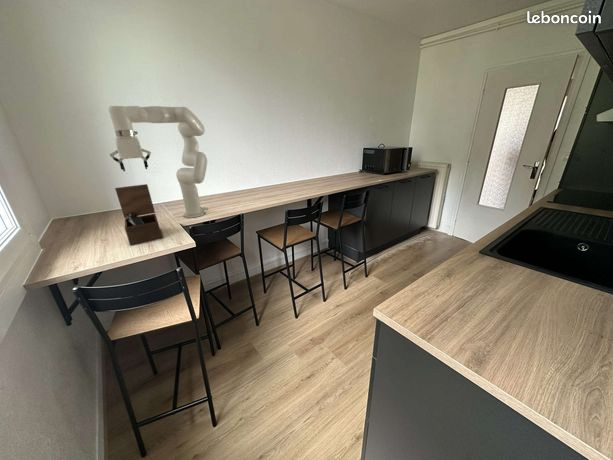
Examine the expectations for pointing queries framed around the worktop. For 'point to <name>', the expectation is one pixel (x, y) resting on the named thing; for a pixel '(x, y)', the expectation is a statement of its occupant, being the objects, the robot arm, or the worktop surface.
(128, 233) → the walnut box
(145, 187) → the lid
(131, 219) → the supplement bottle
